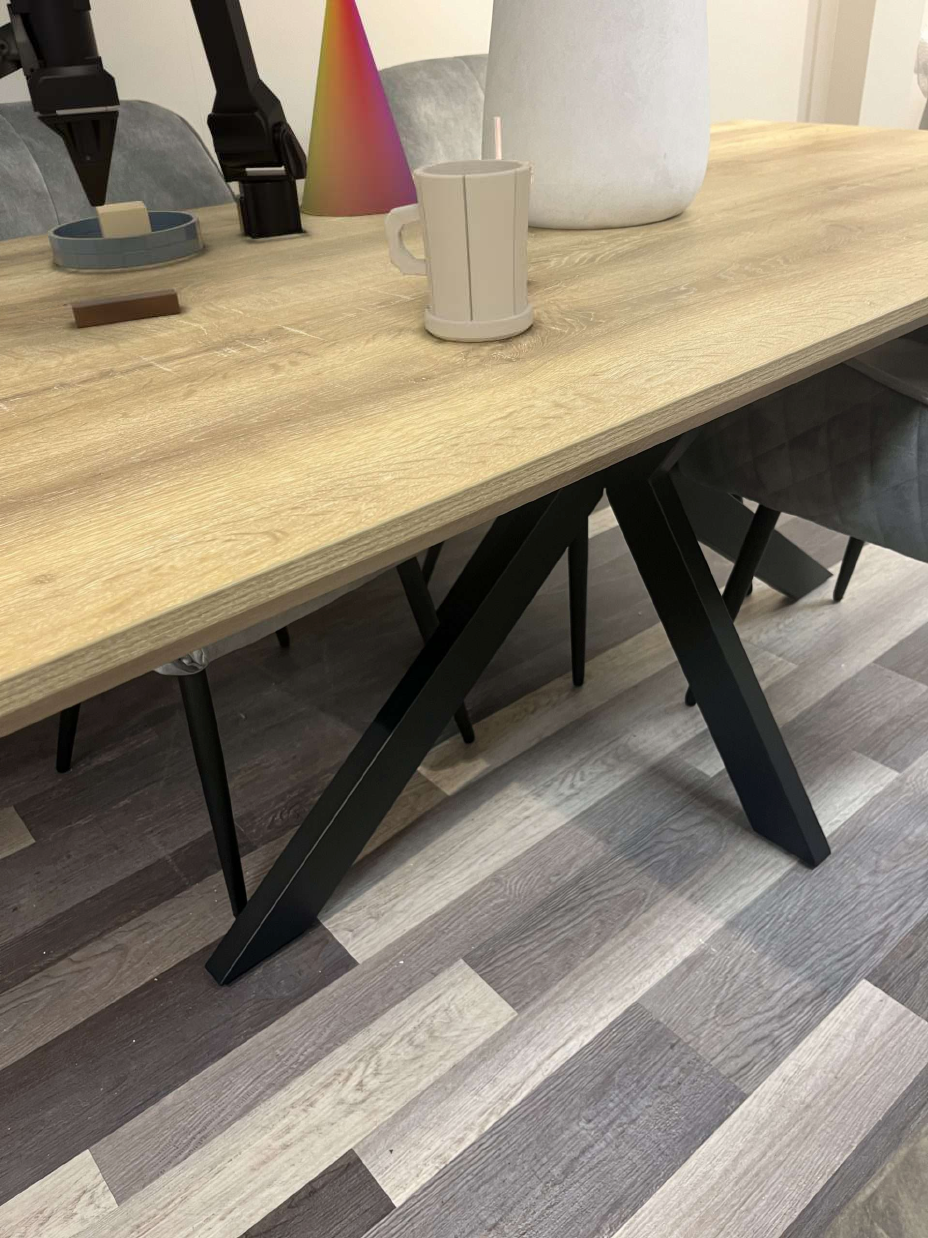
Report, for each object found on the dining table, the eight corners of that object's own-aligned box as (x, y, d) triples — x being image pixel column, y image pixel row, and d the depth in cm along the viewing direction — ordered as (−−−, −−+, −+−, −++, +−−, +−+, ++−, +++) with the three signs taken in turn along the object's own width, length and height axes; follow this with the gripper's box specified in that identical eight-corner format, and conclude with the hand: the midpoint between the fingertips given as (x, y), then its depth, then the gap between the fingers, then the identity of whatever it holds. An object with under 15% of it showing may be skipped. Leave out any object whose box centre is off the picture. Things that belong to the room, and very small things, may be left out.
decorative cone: (276, 210, 134) (238, -59, 118) (361, 191, 144) (337, -59, 128) (359, 219, 125) (330, -71, 109) (444, 198, 135) (428, -70, 119)
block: (151, 246, 114) (141, 200, 111) (156, 254, 110) (146, 206, 107) (106, 252, 112) (95, 205, 110) (109, 260, 108) (98, 212, 106)
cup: (436, 354, 75) (424, 182, 68) (387, 327, 82) (373, 169, 75) (554, 330, 79) (553, 165, 72) (498, 306, 86) (493, 154, 79)
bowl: (192, 236, 121) (186, 205, 119) (214, 260, 108) (208, 226, 106) (53, 253, 116) (45, 221, 114) (59, 280, 103) (50, 245, 102)
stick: (177, 308, 91) (173, 288, 90) (180, 312, 90) (176, 292, 89) (75, 323, 88) (70, 302, 87) (77, 327, 87) (71, 307, 86)
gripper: (-61, -9, 82) (-5, 194, 90) (-78, -19, 67) (-9, 226, 75) (80, -15, 85) (121, 182, 93) (93, -27, 70) (142, 209, 78)
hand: (94, 198), depth 85 cm, fingers open, 9 cm apart
